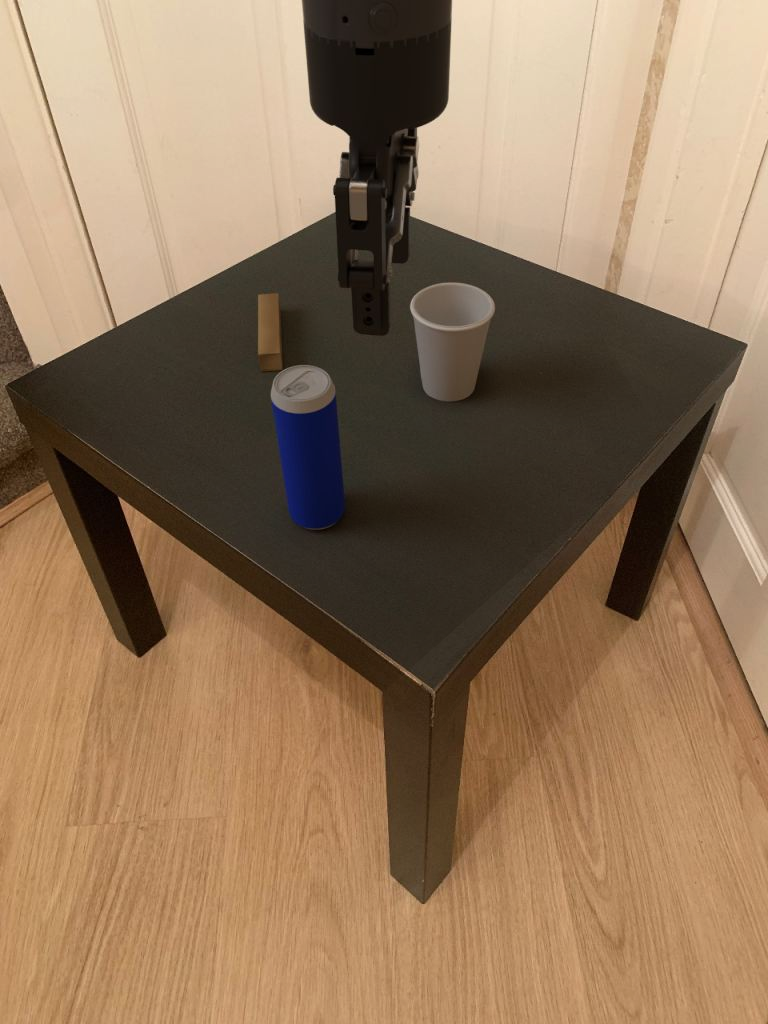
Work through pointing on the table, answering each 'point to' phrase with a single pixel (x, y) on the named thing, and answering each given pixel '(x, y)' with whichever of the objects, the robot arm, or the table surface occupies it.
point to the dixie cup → (451, 337)
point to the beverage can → (309, 445)
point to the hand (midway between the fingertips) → (383, 294)
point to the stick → (269, 332)
